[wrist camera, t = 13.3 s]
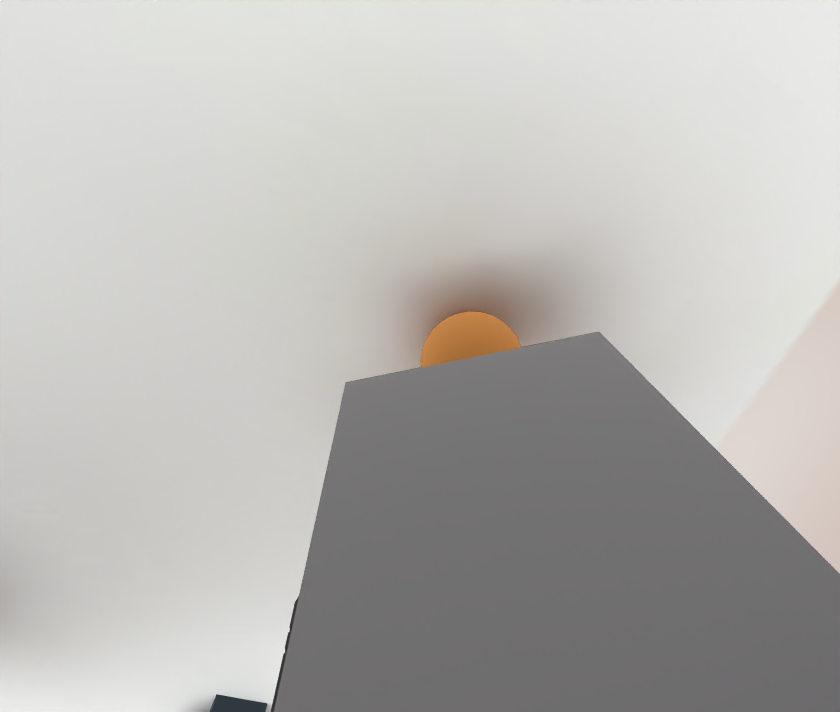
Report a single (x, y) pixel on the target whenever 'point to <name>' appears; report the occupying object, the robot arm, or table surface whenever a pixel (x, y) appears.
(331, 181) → the table surface
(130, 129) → the table surface
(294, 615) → the robot arm
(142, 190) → the table surface
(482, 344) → the ball
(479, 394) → the grey block
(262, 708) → the watch
